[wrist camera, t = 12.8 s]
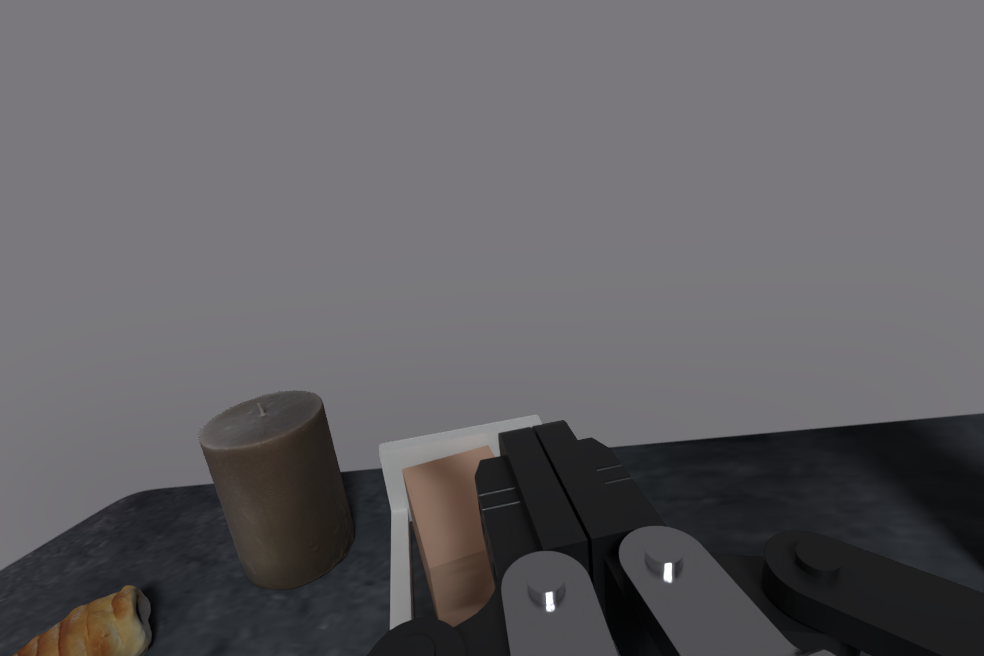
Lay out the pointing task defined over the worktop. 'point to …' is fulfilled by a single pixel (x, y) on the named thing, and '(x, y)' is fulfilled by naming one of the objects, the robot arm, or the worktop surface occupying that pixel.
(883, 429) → the worktop surface
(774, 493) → the worktop surface
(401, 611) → the white frame piece
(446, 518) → the wooden block
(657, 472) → the worktop surface
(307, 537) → the pillar candle
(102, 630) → the pastry
